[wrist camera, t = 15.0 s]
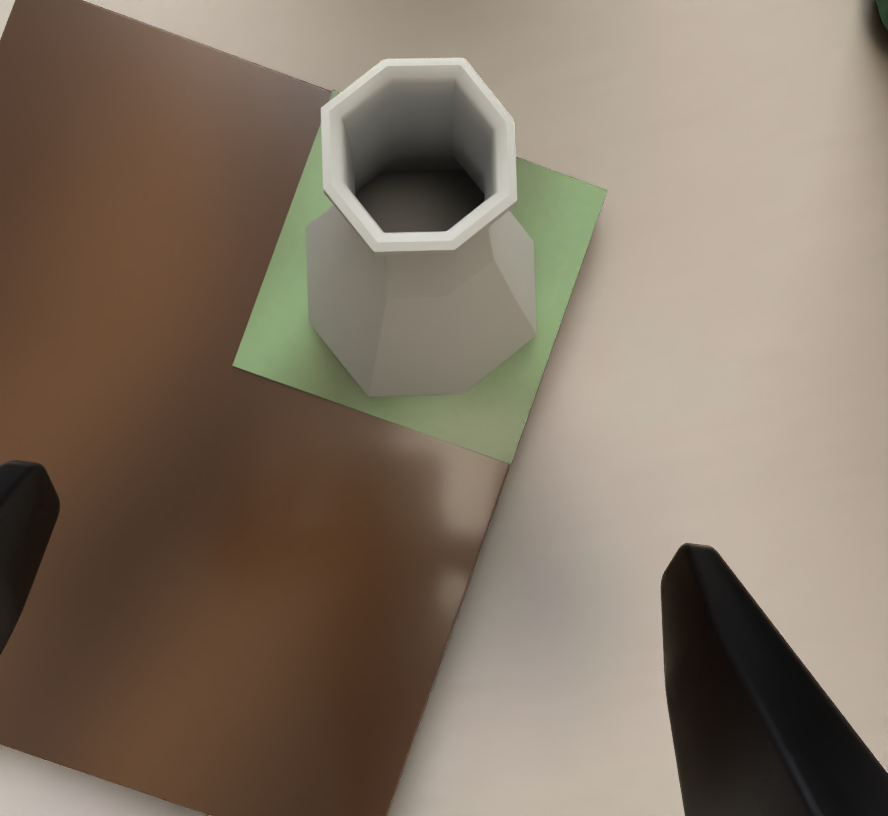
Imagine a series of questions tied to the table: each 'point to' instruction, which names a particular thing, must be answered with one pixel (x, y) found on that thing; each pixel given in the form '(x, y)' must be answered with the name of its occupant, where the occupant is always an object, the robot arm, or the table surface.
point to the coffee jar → (883, 11)
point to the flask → (420, 231)
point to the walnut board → (224, 434)
